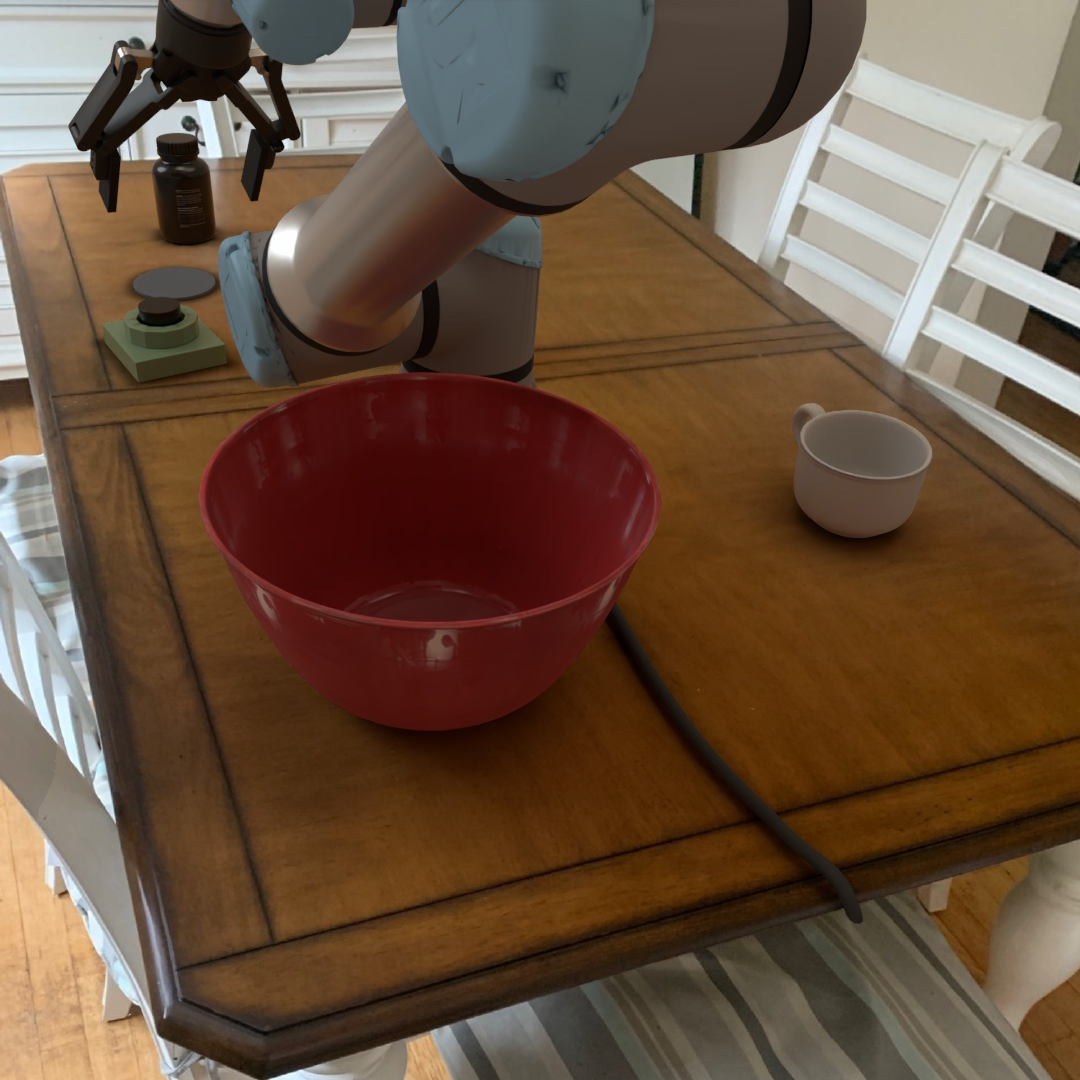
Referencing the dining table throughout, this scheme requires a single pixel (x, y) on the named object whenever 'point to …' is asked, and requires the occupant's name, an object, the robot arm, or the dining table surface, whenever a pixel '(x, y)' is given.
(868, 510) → the teacup
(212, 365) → the button box
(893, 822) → the dining table surface
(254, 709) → the dining table surface
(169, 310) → the button
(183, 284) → the coaster
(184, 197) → the supplement bottle
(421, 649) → the mixing bowl
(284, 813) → the dining table surface
